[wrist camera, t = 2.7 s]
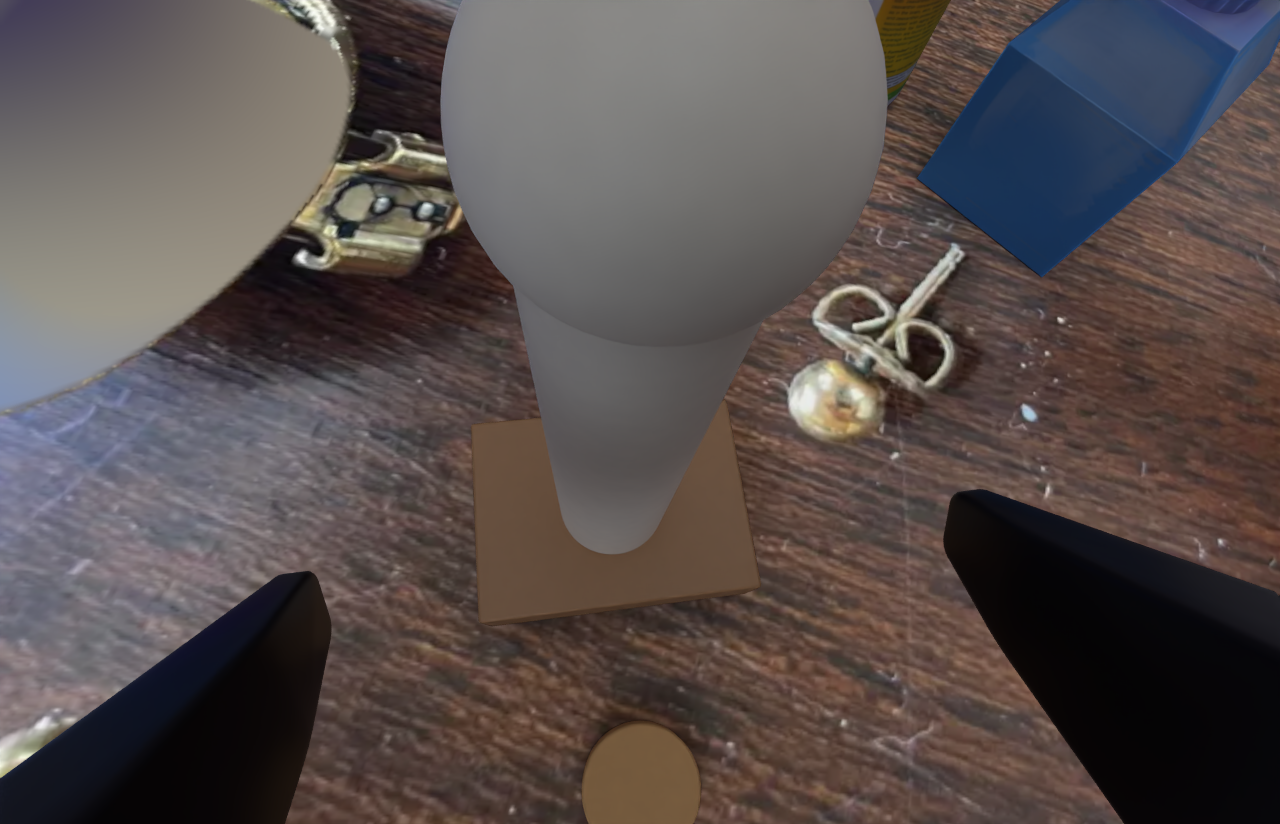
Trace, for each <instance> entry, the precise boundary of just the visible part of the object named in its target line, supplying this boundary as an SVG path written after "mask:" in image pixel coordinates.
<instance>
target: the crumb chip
mask: <svg viewBox="0 0 1280 824" xmlns="http://www.w3.org/2000/svg"><path fill="white" fill-rule="evenodd" d="M700 800H701V781H700V774H699V770H698V767H697V764H696V761H695V759H694V757H693V755H692V753H691V751H690V750H689V748H688V747H687V745H686V744H685V743H684V742H683V741H682V740H681V739H680V738H679V737H678V736H677V735H676V734H675V733H674V732H672V731H671V730H670V729H668V728H667V727H665V726H663V725H661V724H658V723H655V722H651V721H643V720H637V721H630V722H626V723H623V724H620V725H618V726H616V727H614V728H613V729H611V730H610V731H608V732H607V733H606V734H605V735H603V736H602V738H601V739H600V740H599V741H598V742H597V743H596V745H595V746H594V747H593V749H592V751H591V753H590V754H589V757H588V759H587V761H586V765H585V768H584V772H583V778H582V803H583V809H584V812H585V816H586V819H587V821H588V823H589V824H694V822H695V819H696V816H697V814H698V810H699V806H700Z"/></svg>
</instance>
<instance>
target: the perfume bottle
mask: <svg viewBox="0 0 1280 824" xmlns="http://www.w3.org/2000/svg"><path fill="white" fill-rule="evenodd" d="M1279 39H1280V0H1060V1H1059V2H1058V3H1057V4H1055V5H1054V6H1053V7H1052V8H1051V9H1049V10H1048V11H1047V12H1046V13H1044V14H1043V15H1042V16H1041V17H1040V18H1038V19H1037V20H1036V21H1035V22H1034V23H1032V24H1031V25H1030V26H1029V27H1028V28H1026V29H1025V30H1024V31H1023V32H1022V33H1020V34H1019V35H1018V36H1017V37H1015V38H1014V39H1013V40H1012V41H1011V42H1009V43H1008V45H1007V46H1006V48H1005V49H1004V51H1003V52H1002V54H1001V55H1000V57H999V58H998V60H997V61H996V63H995V64H994V65H993V67H992V68H991V70H990V71H989V73H988V74H987V76H986V77H985V79H984V80H983V82H982V83H981V85H980V86H979V88H978V89H977V90H976V92H975V93H974V95H973V96H972V98H971V99H970V101H969V102H968V104H967V105H966V107H965V108H964V110H963V111H962V113H961V114H960V116H959V117H958V118H957V120H956V121H955V123H954V124H953V126H952V127H951V129H950V130H949V132H948V133H947V135H946V136H945V138H944V139H943V141H942V142H941V144H940V145H939V146H938V148H937V149H936V151H935V152H934V154H933V155H932V157H931V158H930V160H929V161H928V163H927V164H926V166H925V167H924V169H923V170H922V171H921V173H920V174H919V176H918V177H917V179H918V180H920V181H921V182H922V183H924V184H925V185H926V186H927V187H929V188H930V189H931V190H932V191H934V192H935V193H936V194H937V195H939V196H940V197H941V198H942V199H944V200H945V201H946V202H948V203H949V204H950V205H951V206H953V207H954V208H955V209H956V210H958V211H959V212H960V213H961V214H963V215H964V216H965V217H966V218H968V219H969V220H970V221H971V222H973V223H974V224H975V225H977V226H978V227H979V228H980V229H982V230H983V231H984V232H985V233H987V234H988V235H989V236H990V237H992V238H993V239H994V240H995V241H997V242H998V243H999V244H1001V245H1002V246H1003V247H1004V248H1006V249H1007V250H1008V251H1009V252H1011V253H1012V254H1013V255H1014V256H1016V257H1017V258H1018V259H1019V260H1021V261H1022V262H1023V263H1025V264H1026V265H1027V266H1028V267H1030V268H1031V269H1032V270H1033V271H1035V272H1036V273H1037V274H1038V275H1040V276H1041V277H1043V276H1044V275H1045V274H1046V273H1047V272H1049V271H1050V270H1051V269H1052V268H1053V267H1055V266H1056V265H1057V264H1058V263H1059V262H1060V261H1062V260H1063V259H1064V258H1065V257H1066V256H1068V255H1069V254H1070V253H1071V252H1072V251H1073V250H1075V249H1076V248H1077V247H1078V246H1079V245H1081V244H1082V243H1083V242H1084V241H1085V240H1087V239H1088V238H1089V237H1090V236H1091V235H1092V234H1094V233H1095V232H1096V231H1097V230H1098V229H1100V228H1101V227H1102V226H1103V225H1104V224H1105V223H1107V222H1108V221H1109V220H1110V219H1111V218H1113V217H1114V216H1115V215H1116V214H1117V213H1118V212H1120V211H1121V210H1122V209H1123V208H1124V207H1126V206H1127V205H1128V204H1129V203H1130V202H1131V201H1133V200H1134V199H1135V198H1136V197H1137V196H1139V195H1140V194H1141V193H1142V192H1143V191H1145V190H1146V189H1147V188H1148V187H1149V186H1150V185H1152V184H1153V183H1154V182H1155V181H1156V180H1158V179H1159V178H1160V177H1161V176H1162V175H1163V174H1165V173H1166V172H1167V171H1168V170H1169V169H1171V168H1172V167H1173V166H1174V165H1175V164H1176V163H1178V162H1179V160H1180V159H1181V158H1182V157H1183V156H1184V155H1185V154H1186V153H1187V152H1188V151H1189V150H1190V149H1191V148H1192V147H1193V145H1194V144H1195V143H1196V142H1197V141H1198V140H1199V139H1200V138H1201V137H1202V136H1203V135H1204V134H1205V133H1206V132H1207V130H1208V129H1209V128H1210V127H1211V126H1212V125H1213V124H1214V123H1215V122H1216V121H1217V120H1218V119H1219V118H1220V116H1221V115H1222V114H1223V113H1224V112H1225V111H1226V110H1227V109H1228V108H1229V107H1230V106H1231V105H1232V104H1233V103H1234V101H1235V100H1236V99H1237V98H1238V97H1239V96H1240V95H1241V94H1242V93H1243V92H1244V91H1245V90H1246V89H1247V88H1248V86H1249V85H1250V84H1251V83H1252V82H1253V81H1254V80H1255V79H1256V78H1257V77H1258V76H1259V75H1260V74H1261V72H1262V71H1263V70H1264V69H1265V68H1266V67H1267V66H1268V65H1269V63H1270V61H1271V58H1272V56H1273V54H1274V51H1275V49H1276V46H1277V44H1278V42H1279Z"/></svg>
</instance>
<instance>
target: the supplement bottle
mask: <svg viewBox="0 0 1280 824" xmlns="http://www.w3.org/2000/svg"><path fill="white" fill-rule="evenodd" d="M950 1H951V0H869V3H870V5H871V7H872V10H873V13H874V16H875V20H876V24H877V28H878V32H879V36H880V40H881V44H882V48H883V52H884V57H885V68H886V81H887V96H888V105H889V104H890V103H891V102H892V101H893V100H894V99H895V98H896V97H897V96H898V94H899V93H900V91H901V90H902V88H903V86H904V85H905V83H906V81H907V80H908V78H909V76H910V74H911V72H912V71H913V69H914V67H915V65H916V63H917V61H918V59H919V57H920V55H921V54H922V52H923V50H924V48H925V46H926V44H927V43H928V41H929V39H930V37H931V35H932V33H933V32H934V30H935V28H936V26H937V24H938V22H939V20H940V19H941V17H942V15H943V13H944V11H945V10H946V8H947V6H948V4H949V2H950ZM888 105H887V106H888Z"/></svg>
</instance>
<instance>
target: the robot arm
mask: <svg viewBox="0 0 1280 824" xmlns="http://www.w3.org/2000/svg"><path fill="white" fill-rule="evenodd" d="M943 542H944V549H945V552H946V554H947V557H948V558H949V560H950V562H951V564H952V565H953V567H954V569H955V571H956V572H957V574H958V576H959V578H960V580H961V581H962V583H963V585H964V587H965V588H966V590H967V592H968V594H969V595H970V597H971V599H972V601H973V602H974V604H975V606H976V608H977V609H978V611H979V613H980V615H981V617H982V618H983V620H984V622H985V624H986V625H987V627H988V629H989V630H990V632H991V634H992V635H993V637H994V639H995V640H996V642H997V644H998V645H999V647H1000V648H1001V650H1002V651H1003V653H1004V654H1005V655H1006V657H1007V658H1008V660H1009V661H1010V663H1011V664H1012V666H1013V667H1014V668H1015V670H1016V671H1017V673H1018V674H1019V675H1020V677H1021V678H1022V680H1023V681H1024V683H1025V684H1026V685H1027V687H1028V688H1029V690H1030V691H1031V692H1032V694H1033V695H1034V697H1035V698H1036V700H1037V701H1038V702H1039V704H1040V705H1041V707H1042V708H1043V709H1044V711H1045V712H1046V714H1047V715H1048V716H1049V718H1050V719H1051V721H1052V722H1053V724H1054V725H1055V726H1056V728H1057V729H1058V731H1059V732H1060V733H1061V735H1062V736H1063V738H1064V739H1065V741H1066V742H1067V743H1068V745H1069V746H1070V748H1071V749H1072V750H1073V752H1074V753H1075V755H1076V756H1077V758H1078V759H1079V760H1080V762H1081V763H1082V765H1083V766H1084V767H1085V769H1086V770H1087V772H1088V773H1089V775H1090V776H1091V777H1092V779H1093V780H1094V782H1095V783H1096V784H1097V786H1098V787H1099V789H1100V790H1101V792H1102V793H1103V794H1104V796H1105V797H1106V799H1107V800H1108V801H1109V803H1110V804H1111V806H1112V807H1113V808H1114V810H1115V811H1116V813H1117V814H1118V816H1119V817H1120V818H1121V820H1122V821H1123V823H1124V824H1280V595H1279V596H1278V595H1277V594H1276V593H1275V592H1274V591H1271V590H1269V589H1266V588H1263V587H1260V586H1257V585H1254V584H1252V583H1249V582H1246V581H1243V580H1240V579H1237V578H1235V577H1232V576H1229V575H1226V574H1223V573H1220V572H1217V571H1215V570H1212V569H1209V568H1206V567H1203V566H1200V565H1198V564H1195V563H1192V562H1189V561H1186V560H1183V559H1181V558H1178V557H1175V556H1172V555H1169V554H1166V553H1163V552H1161V551H1158V550H1155V549H1152V548H1149V547H1146V546H1144V545H1141V544H1138V543H1135V542H1132V541H1129V540H1127V539H1124V538H1121V537H1118V536H1115V535H1112V534H1109V533H1107V532H1104V531H1101V530H1098V529H1095V528H1092V527H1090V526H1087V525H1084V524H1081V523H1078V522H1075V521H1073V520H1070V519H1067V518H1064V517H1061V516H1058V515H1055V514H1053V513H1050V512H1047V511H1044V510H1041V509H1038V508H1036V507H1033V506H1030V505H1027V504H1024V503H1021V502H1019V501H1016V500H1013V499H1010V498H1007V497H1004V496H1001V495H999V494H996V493H993V492H990V491H987V490H983V489H977V490H969V491H961V492H957V493H956V494H954V495H953V497H952V498H951V501H950V505H949V510H948V516H947V521H946V526H945V532H944V538H943ZM330 639H331V619H330V616H329V613H328V609H327V606H326V603H325V600H324V597H323V594H322V591H321V587H320V584H319V581H318V579H317V577H316V576H315V574H314V573H312V572H310V571H304V572H296V573H287V574H281V575H278V576H277V577H275V578H274V579H272V580H271V581H270V582H268V583H267V584H265V585H264V586H263V587H261V588H260V589H259V590H257V591H256V592H255V593H253V594H252V595H250V596H249V597H248V598H246V599H245V600H244V601H242V602H241V603H240V604H238V605H237V606H235V607H234V608H233V609H231V610H230V611H229V612H227V613H226V614H224V615H223V616H222V617H220V618H219V619H218V620H216V621H215V622H214V623H212V624H211V625H209V626H208V627H207V628H205V629H204V630H203V631H201V632H200V633H198V634H197V635H196V636H194V637H193V638H192V639H190V640H189V641H188V642H186V643H185V644H183V645H182V646H181V647H179V648H178V649H177V650H175V651H174V652H172V653H171V654H170V655H168V656H167V657H166V658H164V659H163V660H162V661H160V662H159V663H157V664H156V665H155V666H153V667H152V668H151V669H149V670H148V671H147V672H145V673H144V674H142V675H141V676H140V677H138V678H137V679H136V680H134V681H133V682H131V683H130V684H129V685H127V686H126V687H125V688H123V689H122V690H121V691H119V692H118V693H116V694H115V695H114V696H112V697H111V698H110V699H108V700H107V701H105V702H104V703H103V704H101V705H100V706H99V707H97V708H96V709H95V710H93V711H92V712H90V713H89V714H88V715H86V716H85V717H84V718H82V719H81V720H79V721H78V722H77V723H75V724H74V725H73V726H71V727H70V728H69V729H67V730H66V731H64V732H63V733H62V734H60V735H59V736H58V737H56V738H55V739H53V740H52V741H51V742H49V743H48V744H47V745H45V746H44V747H43V748H41V749H40V750H38V751H37V752H36V753H34V754H33V755H32V756H30V757H29V758H28V759H26V760H25V761H23V762H22V763H21V764H19V765H18V766H17V767H15V768H14V769H12V770H11V771H10V772H8V773H7V774H6V775H4V776H3V777H2V778H0V824H285V821H286V818H287V815H288V812H289V809H290V806H291V802H292V799H293V796H294V793H295V790H296V787H297V784H298V781H299V777H300V774H301V771H302V768H303V765H304V761H305V758H306V754H307V751H308V747H309V743H310V739H311V734H312V730H313V725H314V720H315V715H316V710H317V705H318V700H319V695H320V690H321V685H322V680H323V675H324V670H325V665H326V659H327V654H328V649H329V644H330Z"/></svg>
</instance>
